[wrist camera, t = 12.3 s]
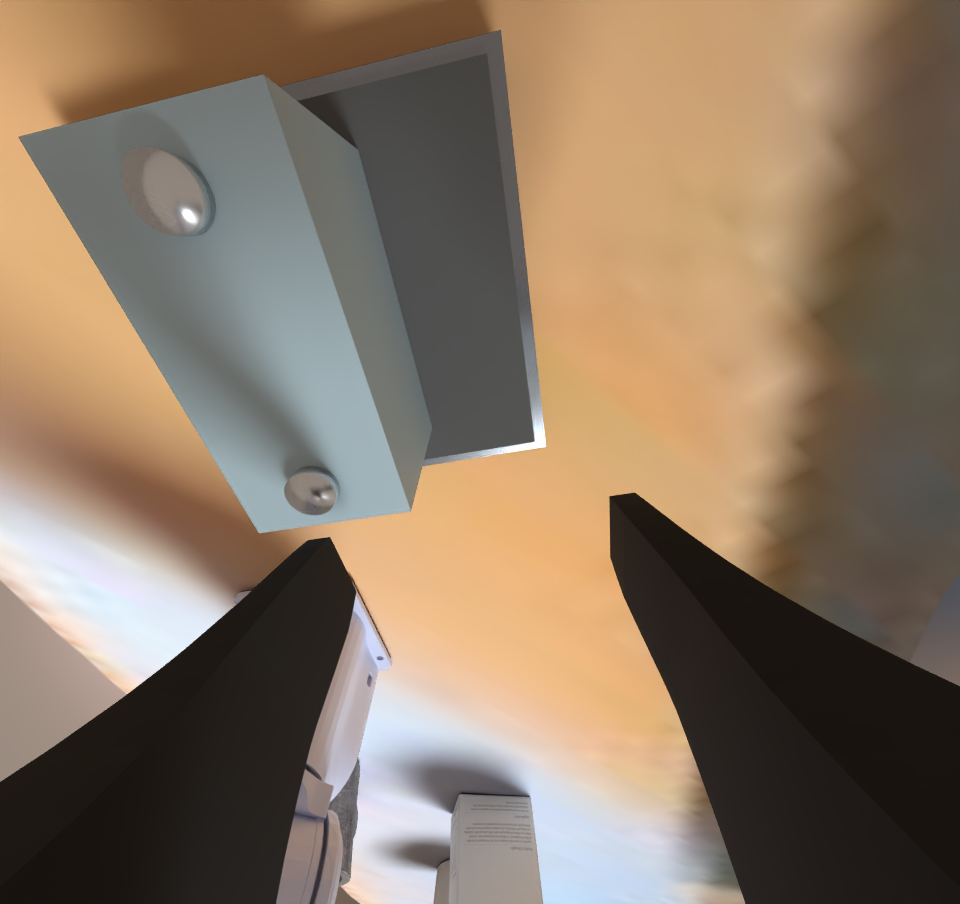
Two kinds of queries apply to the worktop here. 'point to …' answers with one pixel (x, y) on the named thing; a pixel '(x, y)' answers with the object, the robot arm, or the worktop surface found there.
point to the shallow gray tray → (448, 233)
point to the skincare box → (493, 851)
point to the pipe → (347, 820)
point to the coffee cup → (442, 883)
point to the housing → (254, 292)
